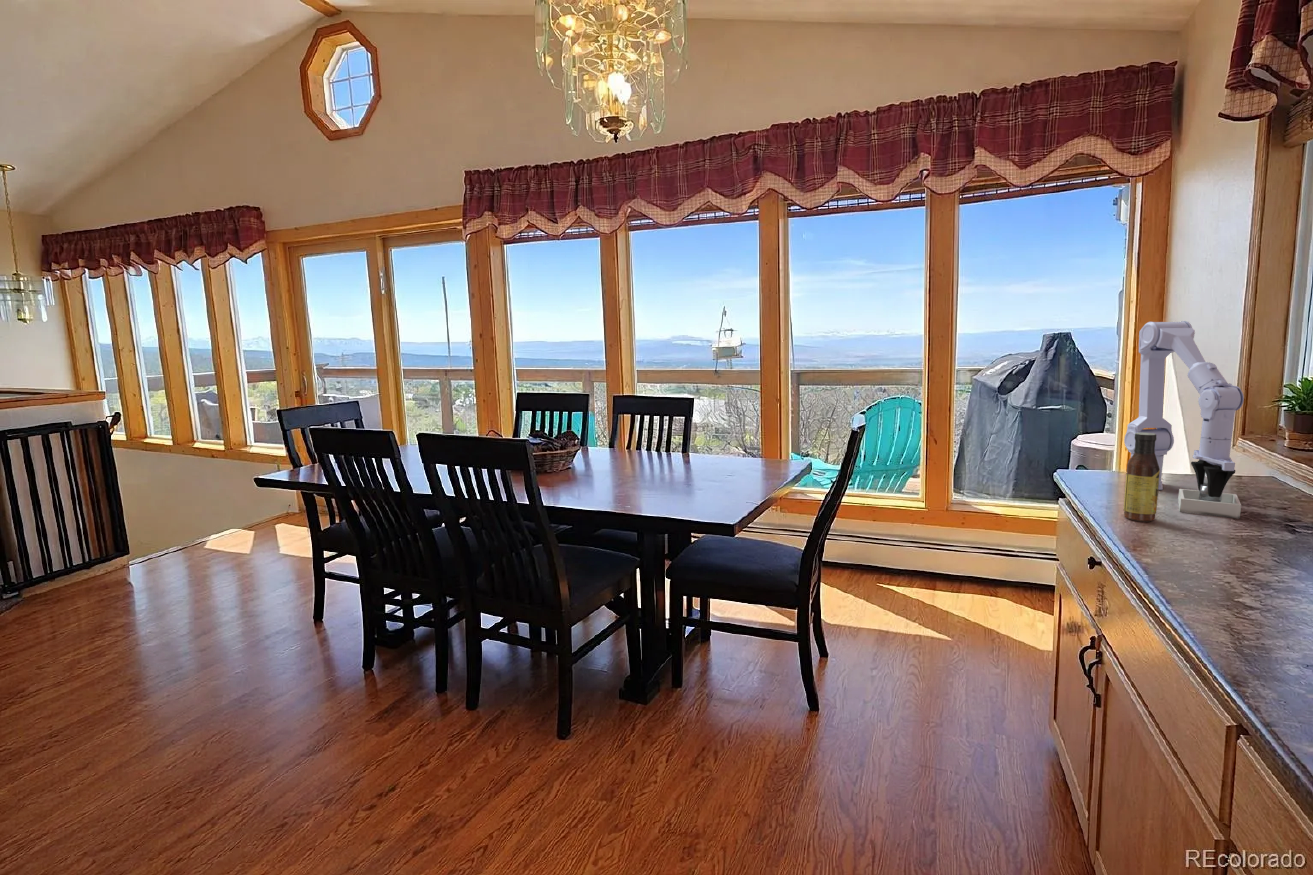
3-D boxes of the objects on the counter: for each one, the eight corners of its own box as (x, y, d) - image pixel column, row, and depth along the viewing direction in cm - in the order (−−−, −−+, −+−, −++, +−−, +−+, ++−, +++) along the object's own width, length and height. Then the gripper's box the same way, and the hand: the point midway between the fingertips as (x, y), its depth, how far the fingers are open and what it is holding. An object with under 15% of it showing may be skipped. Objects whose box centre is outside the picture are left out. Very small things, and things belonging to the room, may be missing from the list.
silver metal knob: (1214, 498, 169) (1218, 469, 167) (1225, 502, 165) (1229, 473, 163) (1194, 497, 169) (1198, 469, 168) (1205, 502, 165) (1208, 473, 164)
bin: (1177, 501, 175) (1179, 488, 174) (1234, 507, 169) (1236, 494, 168) (1179, 511, 166) (1181, 498, 165) (1239, 518, 160) (1241, 505, 159)
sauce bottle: (1160, 523, 158) (1170, 436, 154) (1129, 522, 159) (1138, 436, 156) (1146, 515, 164) (1155, 431, 161) (1117, 514, 165) (1125, 431, 162)
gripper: (1181, 432, 172) (1175, 485, 175) (1211, 443, 158) (1204, 501, 161) (1215, 432, 170) (1208, 487, 173) (1248, 443, 157) (1240, 502, 159)
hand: (1209, 494), depth 167 cm, fingers closed on silver metal knob, 4 cm apart
